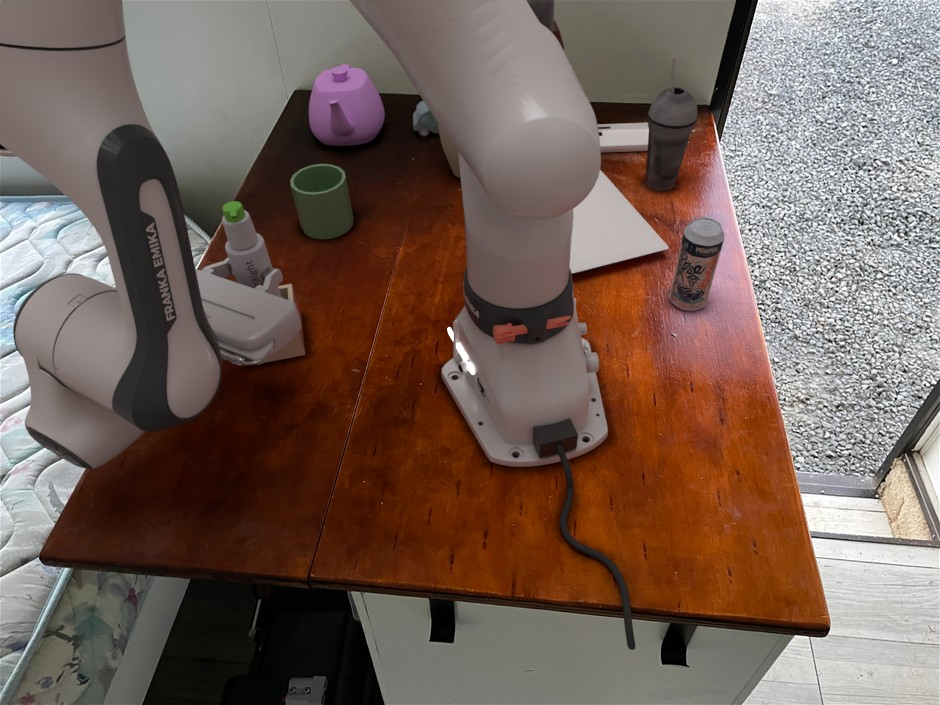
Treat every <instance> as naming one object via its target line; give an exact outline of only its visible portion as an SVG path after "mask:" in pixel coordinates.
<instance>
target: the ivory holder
mask: <svg viewBox="0 0 940 705" xmlns="http://www.w3.org/2000/svg"><path fill="white" fill-rule="evenodd" d="M278 287H279V291H280V294H281V297H282V298H284V299H287V300H290V301H292V302H294V303H295V305H296V307H297V310H298V313H299V316H300V321H301V329H300V331H299V332H298V333H297V334H296V335H295V336H294V337H293V338H292V339H291V340H290V341H289V342H288V343H287V344H286V345H284V346H283V347H282V348H281V349H279V350H278V351H277V352H276V353H274V354H273V355H272V356H270V357H269V358H267V359H266V360H265V361H264V362H263V363H262V364H266V363H271V362H275V361H282V360H286V359H291V358H292V359H293V358H297V357H302V356H306V350H305V348H306V347H305V339H304V330H303V329H304V328H303V320H302V315H301V311H300V308H299V304H298V300H297V297H296V293H295V290H294V287H293V283H287V284H282V285H278Z"/></svg>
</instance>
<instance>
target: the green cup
mask: <svg viewBox="0 0 940 705" xmlns="http://www.w3.org/2000/svg"><path fill="white" fill-rule="evenodd" d="M289 182H290V189H291V192H292V196H293V200H294V204H295V208H296V212H297V216H298V220H299V224H300V228H301V231H302V232H303V234H304V235H305V236H308V237H309V238H311V239H316V240H331V239H335V238H338V237H342V236H343V235H345V234H346V233H348V232H349V231H350V230H351V229H352V227H353V226H354V222H355V219H354V218H355V217H354V214H353V207H352V204H351V197H350V193H349V192H350V191H349V187H348V182H347V176H346V172H345V170H343V169H342V168H341V167H340V166H338V165H333V164H330V163H317V164H311V165H307V166H305V167H302V168H300V169H299V170H298V171H296V172H295V173H293V174H292V176H291V178H290V180H289Z"/></svg>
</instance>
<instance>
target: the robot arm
mask: <svg viewBox="0 0 940 705" xmlns="http://www.w3.org/2000/svg"><path fill="white" fill-rule="evenodd" d="M348 1H349V2H350V3H351V5H352V6H353V7H354V8H355V10H357V12H358V13H359V14H360V15H361V17H363V19H364V20H365V21H366V23H367V24H368V25H369V26H370V27H371V29H372V30H373V31H374V32H375V33H376V35H377V36H378V38H380V40H381V41H382V42H383V44H384V45H385V46H386V48H388V50H389V51H390V53H391V54H392V55H393V57H394V58H395V59H396V61H397V62H398V64H399V65H400V66H401V68H402V70H403V71H404V73H405V74H406V76H407V78H408V79H409V80H410V82H411V84H412V85H413V87H414V89H415V91H417V92H416V93H418V94H419V96H420V98H421V99H422V101H424V102H425V104H426V105H427V107H428V108H429V110H430V111H431V113H432V114H433V116H434V117H435V119H436V120H437V122H438V123H439V125H440V126H441V127H442V129H443V130H444V132H445V133H446V135H447V136H448V138H449V139H450V140H451V142H452V143H453V145H454V146H455V147H456V149H457V150H458V155H459V166H460V177H461V178H460V184H461V185H460V186H461V196H462V206H463V218H464V233H465V253H466V268H465V270H464V274H463V281H462V292H463V297H464V306H463V307H462V309H461V311H460V312H459V313H458V315H457V316H456V317H455V319H454V321H452V328H451V327H450V326H449V327H447V333H448V335H449V337H450V339H451V340H452V349H453V350H452V351H453V353H452V356H453V357H452V358H450V359H449V360H448V361H447V362H446V363H445V364H444V365H443V366H442V368H441V373H440V374H441V375H440V377H441V380H442V382H443V383H444V385H445V387H446V389H447V390H448V392H449V394H450V395H451V397H452V399H453V400H454V403H455V404H456V406H457V407H458V409H459V411H460V413H461V414H462V416H463V418H464V420H465V422H466V423H467V425H468V427H469V429H470V431H471V432H472V434H473V435H474V437H475V439H476V440H477V442H478V445H479V446H480V447H481V449H482V451H483V453H484V454H485V456H486V458H487V459H488V461H490V462H491V463H493V464H497V465H500V466H505V467H511V468H512V467H513V468H514V467H515V468H527V467H529V468H531V467H538V466H539V467H540V466H545V465H551V464H556V463H560V462H561V465H562V469H563V473H564V477H565V482H566V496H565V501H564V504H563V507H562V509H561V510H562V511H561V514H560V517H559V529H560V532H561V534H562V537H563V538H564V539H565V540H564V541H566V542H567V544H569V545H570V546H571V547H572V548H573V549H575V550H577V551H579V552H581V553H583V554H585V555H587V556H590V557H592V558H594V559H596V560H598V561H599V562H601V563H603V564H604V565H605V566H606V567H607V568H608V570H609V571H610V572H611V574H612V576H613V577H614V579H615V581H616V584H617V587H618V589H619V592H620V597H621V605H622V614H623V623H624V633H625V640H626V646H627V648H628V649H629V650H631V651H634V650H636V639H635V633H634V625H633V617H632V608H631V599H630V594H629V589H628V586H627V583H626V580H625V578H624V576H623V574H622V573H621V570H620V569H619V568H618V566H617V565H616V563H614V561H613V560H612V559H610V558H609V557H608V556H607V555H606V554H604V553H602V552H600V550H599V551H598V550H597V549H594V548H592V547H589V546H587V545H586V544H583V543H582V542H579V541H578V540H577V539H576V538H574V536H573V535H572V534H571V532H570V530H569V527H568V517H569V514H570V511H571V508H572V505H573V501H574V486H575V484H574V477H573V473H572V469H571V465H570V462H569V460H572V459H574V458H577V457H580V456H582V455H585V454H587V453H589V452H591V451H593V450H594V449H597V447H599V446H600V445H601V444H602V443H603V442H604V441H605V440H606V439H607V438H608V436H609V428H608V422H607V417H606V412H605V408H604V404H603V398H602V394H601V390H600V386H599V382H598V381H599V380H598V375H597V373H598V372H599V370H600V359H599V355H598V353H597V352H595V351H594V352H592V347H591V344H590V342H589V340H587V339H586V338H583V337H582V336H584V335H587V334H588V326H587V323H586V322H579V317H578V313H577V312H578V311H577V301H578V300H577V298H576V297H575V287H574V282H573V274H572V273H571V270H570V255H571V244H572V232H573V219H574V215H573V209H574V208H575V207H576V206H578V205H579V204H580V203H581V202H582V201H583V200H584V199H585V198H586V197H587V196H588V195H589V193H590V192H591V191H592V189H593V187H594V185H595V183H596V181H597V179H598V176H599V172H600V170H601V166H602V157H601V156H602V155H601V154H602V153H600V139H599V136H600V133H599V132H598V129H599V127H598V126H597V125H598V121H597V117H596V113H595V111H594V109H593V106H592V105H591V102H590V101H589V99H588V96H587V94H586V93H585V91H584V88H583V87H582V85H581V83H580V81H579V78H578V77H577V75H576V73H575V71H574V69H573V67H572V65H571V63H570V61H569V59H568V57H567V55H566V52H565V50H564V51H563V49H562V47H561V45H560V43H559V41H558V40H557V38H556V37H555V36H554V34H553V33H552V32H551V31H550V30H549V29H547V28H546V27H545V26H544V25H542V24H541V23H540V22H539V20H538V19H537V17H536V15H535V14H534V12H533V11H532V9H531V7H530V6H529V4H528V2H527V1H526V0H348ZM0 145H1V146H2V147H4V149H5V150H7V151H8V152H10V153H11V154H12V155H14V156H16V158H18V159H20V161H22V162H23V163H24V164H26V165H28V166H29V167H30V168H32V169H33V170H34V171H36V172H37V173H38V174H39V175H41V176H42V177H43V178H45V179H46V180H47V181H48V182H49V183H51V185H53V186H54V187H55V188H57V190H58V191H60V192H61V193H62V194H63V195H64V196H65V197H66V198H68V200H70V201H71V203H73V204H74V205H75V207H77V208H78V209H79V210H80V211H81V213H82V214H83V215H84V216H85V217H86V219H87V220H88V221H89V222H90V224H91V225H92V226H93V228H94V229H95V231H96V232H97V234H98V237H100V239H101V242H102V244H103V246H104V248H105V252H106V254H107V258H108V262H109V265H110V269H111V273H112V277H113V281H114V284H115V287H114V286H111V285H109V284H107V283H104V282H102V281H99V280H97V279H95V278H92V277H89V276H86V275H83V274H80V273H76V272H75V273H74V272H73V273H72V272H70V273H64V274H60V275H57V276H54V277H52V278H50V279H47V280H46V281H44V282H42V283H41V284H39V285H38V286H36V288H34V289H33V290H32V291H31V292H30V293H29V294H28V295H27V296H26V297H25V298H24V300H23V301H22V303H21V304H20V306H19V307H18V310H17V312H16V314H15V318H14V321H13V327H12V328H13V329H12V334H13V341H14V346H15V348H16V350H17V352H18V353H19V355H20V356H21V357H22V359H23V361H24V365H25V368H26V372H27V377H28V382H29V388H30V404H29V409H28V410H27V414H26V416H25V419H24V427H25V430H26V432H27V434H28V435H29V436H30V437H31V438H32V439H33V440H34V441H35V442H36V443H38V444H39V445H40V446H42V447H43V448H45V449H46V450H48V451H50V452H51V453H53V454H55V455H56V456H57V457H59V458H61V459H63V460H64V461H66V462H68V463H70V464H71V465H74V466H75V467H78V468H81V469H90V470H94V469H98V468H100V467H102V466H103V465H105V464H108V462H110V461H112V460H113V459H115V458H116V457H117V456H119V455H120V454H121V453H122V452H124V451H125V450H127V449H128V448H129V447H130V446H131V445H132V444H134V443H135V441H137V440H138V439H140V438H141V436H142V435H143V434H144V433H155V432H161V431H166V430H169V429H173V428H177V427H179V426H182V425H184V424H186V423H188V422H190V421H192V420H194V419H197V417H199V416H200V415H202V414H203V413H204V412H205V411H207V409H208V408H209V407H210V406H211V404H212V403H213V401H214V400H215V398H216V396H217V394H218V392H219V390H220V386H221V383H222V378H223V361H224V362H228V363H230V364H231V365H233V366H234V367H235V366H236V367H239V368H245V367H247V366H248V367H249V366H256V365H258V366H259V365H261V364H264V363H263V362H264V361H265V360H266V359H267V358H269V357H270V356H272V355H273V354H274V353H276V352H277V351H278V350H279V349H281V348H282V347H283V346H284V345H286V344H287V343H288V342H289V341H290V340H291V339H292V338H293V337H294V336H295V335H296V334H297V333H298V332H299V331H300V329H301V321H300V316H299V313H298V310H297V307H296V305H295V303H294V302H292V301H290V300H287V299H284V298H281V297H278V296H275V295H274V293H275V288H276V287H277V286H280V284H281V283H282V282H283V279H284V277H283V273H282V270H281V269H279V268H276V267H273V266H272V267H268V268H267V270H265V271H264V272H262V273H261V276H262V279H263V282H264V284H263V286H262V285H258V286H257V287H255V288H251V287H248V286H245V285H242V284H239V283H237V281H233V280H230V279H227V278H228V277H229V276H234V277H235V275H234V272H233V269H232V266H231V264H230V261H229V258H228V257H226V258H225V259H224V260H222V261H221V260H220V261H218V262H215V263H212V264H208V265H206V266H204V267H203V268H202V269H198V268H196V266H195V265H196V264H195V261H194V255H193V251H192V246H191V241H190V236H189V231H188V225H187V221H186V217H185V212H184V208H183V202H182V198H181V193H180V190H179V186H178V181H177V179H176V175H175V172H174V169H173V165H172V163H171V160H170V158H169V156H168V154H167V152H166V149H164V146H163V145H162V143H161V141H160V139H158V137H157V136H156V133H155V131H154V130H153V128H152V125H151V123H150V121H149V118H148V117H147V114H146V112H145V109H144V106H143V104H142V101H141V98H140V95H139V91H138V89H137V85H136V81H135V77H134V75H133V70H132V66H131V61H130V56H129V50H128V42H127V35H126V25H125V16H124V7H123V0H0ZM585 441H587V442H585ZM514 456H517V457H514Z"/></svg>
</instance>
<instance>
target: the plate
mask: <svg viewBox="0 0 940 705" xmlns="http://www.w3.org/2000/svg"><path fill="white" fill-rule="evenodd" d="M573 215H574V219H573V232H572V244H571V255H570V270H571V273H572V275H575V274H579V273H583V272H587V271H591V270H595V269H598V268H602V267H606V266H610V265H615V264H618V263H622V262H625V261H629V260H633V259H634V260H635V259H636V258H642V257H645V256H649V255H653V254H657V253H661V252H664V251H668V250H669V247H670V246H669V245H668V244H667V243H666V242H665V240H663V238H662V237H661V236H660V235H659V234H658V233H657V232H656V230H655V229H654V228H653V227H652V226H651V225H650V224H649V223H648V222H647V221H646V219H645V218H644V217H643V216H642V215H641V214H640V212H639V211H638V210H637V209H636V208H635V207H634V206H633V204H632V203H631V202H630V201H629V200H628V199H627V197H625V196H624V195H623V193H622V192H621V191H620V190H619V189H618V188H617V187H616V185H615V184H614V183H613V182H612V181H611V179H610V178H609V177H608V176H607V175H606V174H605V173H604V172H603V171H602V170H601V169H600V172H599V176H598V179H597V181H596V183H595V185H594V187H593V189H592V191H591V192H590V193H589V195H588V196H587V197H586V198H585V199H584V200H583V201H582V202H581V203H580V204H579V205H578V206H576V207H575V208H574V209H573Z"/></svg>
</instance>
